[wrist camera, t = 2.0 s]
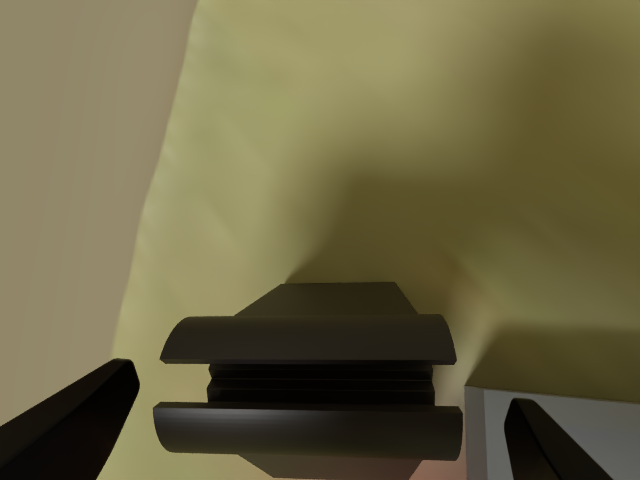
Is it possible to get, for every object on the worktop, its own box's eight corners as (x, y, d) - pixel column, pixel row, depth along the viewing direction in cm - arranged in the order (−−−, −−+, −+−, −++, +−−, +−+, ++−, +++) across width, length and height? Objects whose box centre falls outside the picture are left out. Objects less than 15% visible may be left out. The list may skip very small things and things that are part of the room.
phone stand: (405, 480, 17) (494, 714, 6) (274, 474, 17) (113, 675, 6) (394, 283, 20) (439, 171, 8) (283, 284, 20) (183, 181, 9)
